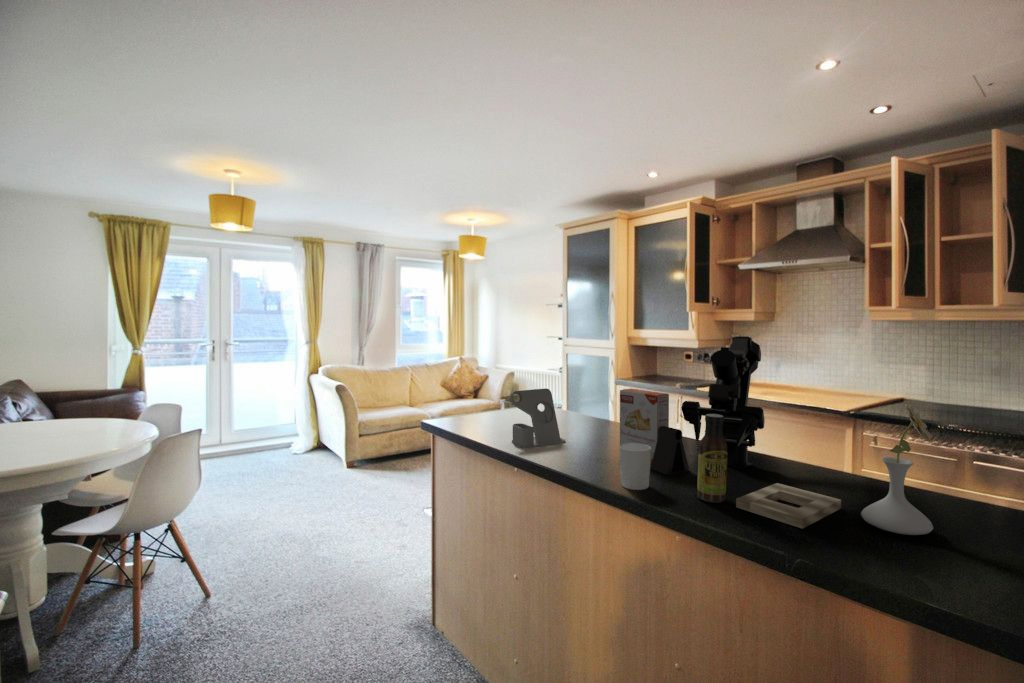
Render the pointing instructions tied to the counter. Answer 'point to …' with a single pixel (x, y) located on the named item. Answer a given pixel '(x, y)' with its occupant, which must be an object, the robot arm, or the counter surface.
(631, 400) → the cracker box
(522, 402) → the phone holder
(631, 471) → the white cup
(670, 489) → the counter surface
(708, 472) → the sauce bottle
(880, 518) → the flower in vase
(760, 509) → the board
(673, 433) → the door stopper
